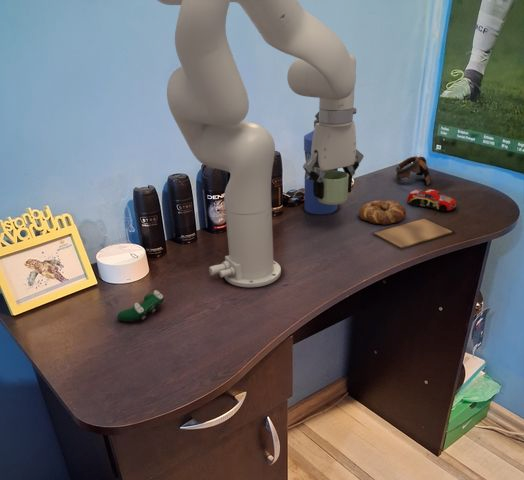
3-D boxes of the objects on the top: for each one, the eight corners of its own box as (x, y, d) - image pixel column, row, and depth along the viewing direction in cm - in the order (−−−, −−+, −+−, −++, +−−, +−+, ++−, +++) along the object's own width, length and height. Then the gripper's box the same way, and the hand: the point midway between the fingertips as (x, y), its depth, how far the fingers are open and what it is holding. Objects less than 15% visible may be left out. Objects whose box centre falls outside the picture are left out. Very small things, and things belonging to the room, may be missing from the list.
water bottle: (318, 199, 155) (320, 105, 140) (344, 206, 149) (349, 109, 135) (296, 209, 149) (296, 112, 135) (323, 217, 144) (325, 117, 129)
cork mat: (400, 248, 126) (401, 247, 126) (374, 234, 134) (374, 232, 133) (452, 232, 132) (452, 231, 132) (423, 219, 139) (423, 218, 139)
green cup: (328, 207, 128) (329, 181, 124) (311, 198, 133) (311, 173, 130) (353, 201, 131) (355, 176, 127) (335, 192, 136) (337, 168, 132)
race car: (459, 208, 145) (461, 193, 143) (450, 214, 142) (452, 199, 139) (414, 198, 152) (415, 183, 150) (404, 203, 149) (406, 189, 146)
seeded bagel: (357, 225, 138) (358, 211, 136) (358, 209, 147) (359, 196, 145) (406, 226, 136) (407, 212, 134) (404, 210, 145) (405, 197, 143)
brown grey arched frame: (427, 190, 158) (416, 166, 154) (399, 199, 165) (387, 176, 161) (440, 168, 164) (429, 144, 160) (412, 177, 171) (401, 154, 167)
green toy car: (126, 332, 106) (139, 319, 101) (114, 317, 105) (126, 303, 101) (158, 310, 112) (171, 297, 108) (146, 295, 112) (158, 282, 107)
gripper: (357, 108, 127) (352, 183, 137) (293, 118, 120) (293, 196, 131) (377, 113, 122) (371, 191, 132) (312, 124, 115) (310, 205, 125)
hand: (332, 193), depth 131 cm, fingers closed on green cup, 7 cm apart
